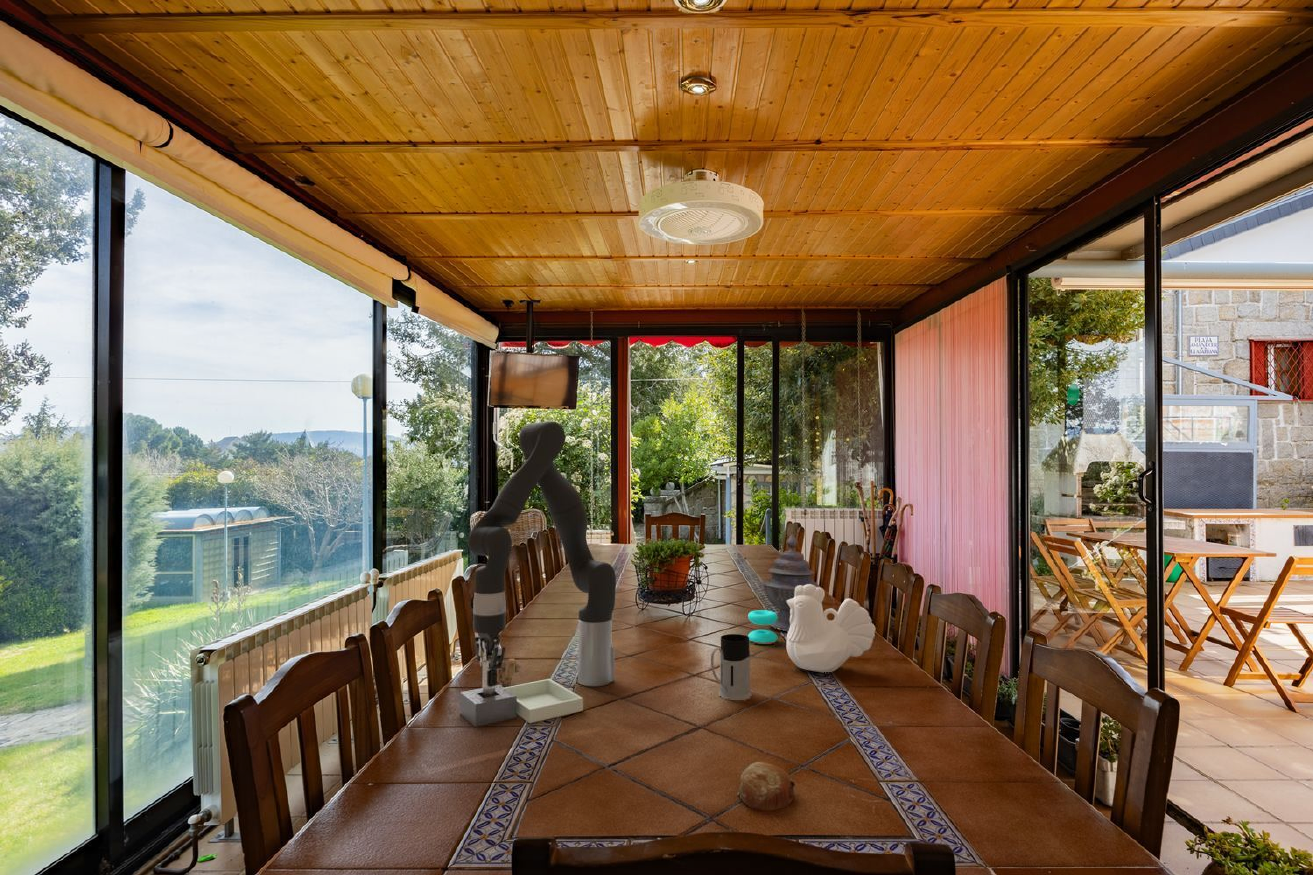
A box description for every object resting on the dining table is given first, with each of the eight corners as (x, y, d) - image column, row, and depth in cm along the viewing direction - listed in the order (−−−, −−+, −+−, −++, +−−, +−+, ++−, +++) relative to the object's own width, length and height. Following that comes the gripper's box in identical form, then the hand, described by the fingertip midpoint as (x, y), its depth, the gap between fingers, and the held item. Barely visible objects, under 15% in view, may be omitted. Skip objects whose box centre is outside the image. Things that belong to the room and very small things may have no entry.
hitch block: (499, 708, 172) (499, 684, 172) (516, 721, 164) (516, 695, 164) (460, 717, 166) (460, 692, 166) (475, 731, 158) (475, 704, 158)
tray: (549, 693, 183) (549, 678, 183) (582, 714, 168) (583, 697, 169) (498, 704, 175) (498, 688, 175) (529, 727, 160) (529, 709, 160)
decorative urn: (760, 632, 246) (765, 532, 249) (761, 623, 266) (765, 530, 269) (819, 637, 243) (823, 536, 246) (815, 628, 262) (819, 534, 266)
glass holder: (758, 694, 183) (758, 637, 184) (725, 709, 173) (725, 647, 173) (731, 687, 189) (731, 631, 190) (698, 700, 179) (698, 641, 179)
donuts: (779, 610, 240) (775, 616, 230) (779, 639, 239) (775, 647, 230) (750, 608, 243) (745, 614, 233) (750, 637, 242) (745, 644, 233)
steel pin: (492, 708, 167) (492, 649, 168) (497, 712, 165) (497, 652, 165) (480, 711, 166) (480, 651, 166) (485, 714, 163) (485, 654, 163)
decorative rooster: (780, 673, 201) (780, 587, 202) (793, 659, 216) (793, 578, 217) (870, 685, 191) (869, 594, 192) (877, 669, 205) (877, 585, 206)
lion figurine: (523, 693, 184) (523, 658, 184) (504, 697, 181) (504, 662, 181) (500, 678, 196) (501, 646, 196) (482, 682, 193) (482, 649, 193)
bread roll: (743, 805, 132) (725, 766, 132) (790, 779, 133) (773, 741, 133) (754, 832, 122) (735, 791, 122) (806, 805, 123) (787, 764, 123)
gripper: (516, 613, 162) (516, 688, 162) (493, 603, 174) (492, 673, 173) (485, 618, 158) (485, 695, 157) (463, 607, 169) (463, 678, 169)
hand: (489, 683), depth 165 cm, fingers closed on steel pin, 3 cm apart
